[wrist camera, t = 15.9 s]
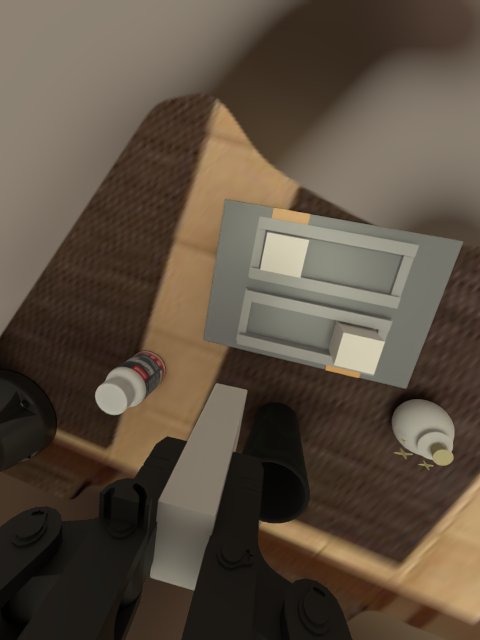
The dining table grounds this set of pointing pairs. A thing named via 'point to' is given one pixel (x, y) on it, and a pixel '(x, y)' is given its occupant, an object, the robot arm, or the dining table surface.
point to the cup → (279, 463)
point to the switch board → (326, 288)
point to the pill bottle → (130, 383)
